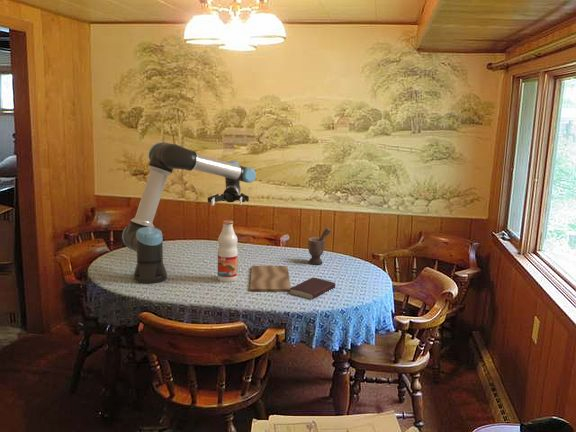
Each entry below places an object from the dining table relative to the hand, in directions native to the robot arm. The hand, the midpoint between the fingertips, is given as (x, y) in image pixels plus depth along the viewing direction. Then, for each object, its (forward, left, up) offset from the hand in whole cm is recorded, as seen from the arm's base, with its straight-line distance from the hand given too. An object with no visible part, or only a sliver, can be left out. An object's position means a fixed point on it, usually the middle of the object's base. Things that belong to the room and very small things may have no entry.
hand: (226, 202), depth 255 cm
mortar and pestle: (+47, +17, -35) cm, 61 cm away
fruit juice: (+1, -11, -35) cm, 37 cm away
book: (+40, -26, -35) cm, 60 cm away
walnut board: (+21, -10, -35) cm, 42 cm away
